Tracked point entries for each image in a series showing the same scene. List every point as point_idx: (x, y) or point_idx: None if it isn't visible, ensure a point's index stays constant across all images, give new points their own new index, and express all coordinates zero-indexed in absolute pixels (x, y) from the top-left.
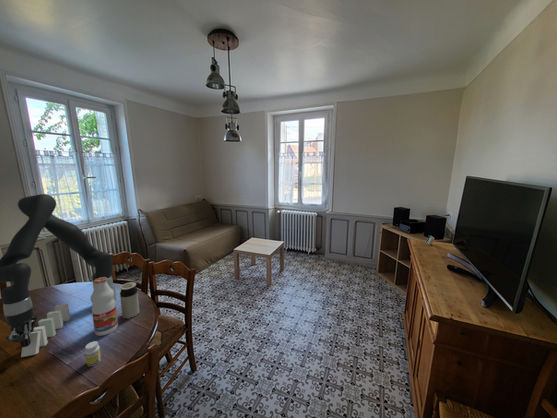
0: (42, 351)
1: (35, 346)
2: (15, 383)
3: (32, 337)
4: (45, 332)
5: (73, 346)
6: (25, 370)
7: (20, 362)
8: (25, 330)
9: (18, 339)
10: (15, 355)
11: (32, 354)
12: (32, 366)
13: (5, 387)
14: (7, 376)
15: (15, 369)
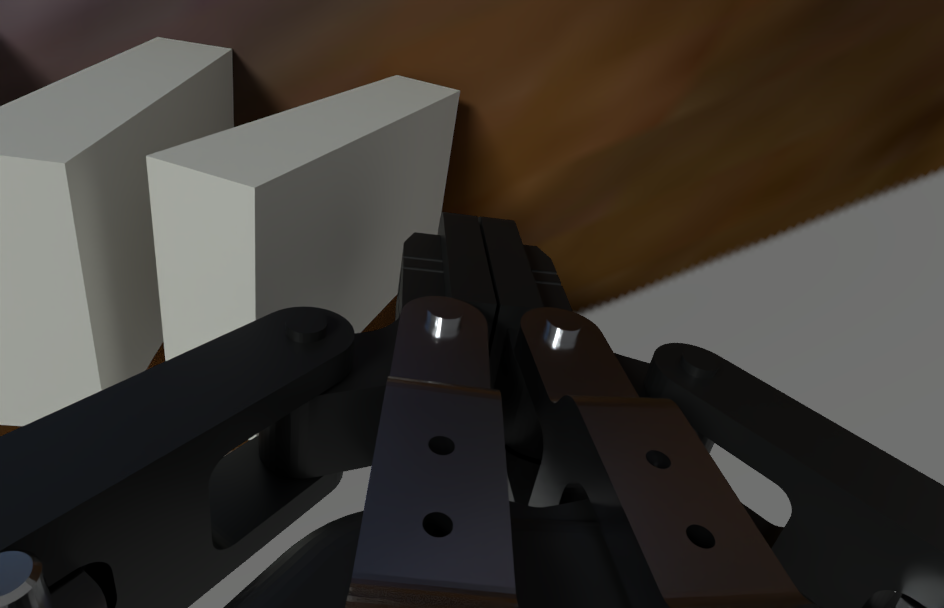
0: (385, 26)
1: (411, 126)
2: (938, 92)
3: (314, 250)
4: (57, 89)
5: None
6: (741, 82)
7: (517, 218)
8: (731, 522)
9: (877, 458)
10: None
11: (450, 131)
12: (708, 23)
13: (925, 170)
14: (722, 237)
15: (636, 212)
